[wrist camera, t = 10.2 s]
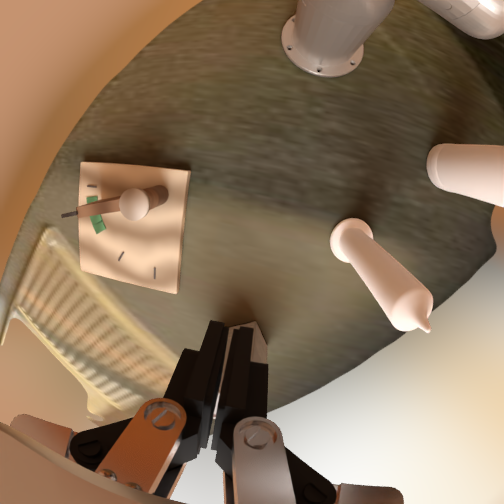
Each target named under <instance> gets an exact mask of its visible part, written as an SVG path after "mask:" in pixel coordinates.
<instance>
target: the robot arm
mask: <svg viewBox="0 0 504 504" xmlns="http://www.w3.org/2000/svg"><path fill="white" fill-rule="evenodd" d="M418 1H419V2H421V3H422V4H424V5H425V6H427V7H429V8H430V9H432V10H433V11H435V12H436V13H438V14H439V15H440V16H442V17H443V18H445V19H446V20H448V21H449V22H450V23H452V24H453V25H455V26H456V27H457V28H459V29H460V30H462V31H463V32H465V33H467V34H468V35H470V36H473V37H475V38H479V39H492V38H495V37H498V36H500V35H501V34H503V33H504V0H418ZM394 2H395V0H298V4H297V10H296V15H294V16H292V17H291V18H290V19H289V20H288V21H287V22H286V24H285V25H284V27H283V30H282V35H281V40H282V46H283V49H284V51H285V53H286V55H287V56H288V58H289V59H290V60H291V61H292V62H293V63H294V64H295V65H296V66H297V67H299V68H300V69H302V70H304V71H306V72H308V73H310V74H313V75H316V76H320V77H339V76H343V75H345V74H348V73H350V72H351V71H353V70H354V69H355V68H356V67H357V66H358V65H359V63H360V62H361V60H362V57H363V52H364V47H363V43H364V42H365V41H366V39H367V38H368V37H369V36H370V35H371V34H372V33H373V31H374V30H375V29H376V28H377V27H378V26H379V25H380V23H381V22H382V21H383V20H384V19H385V18H386V17H387V15H388V14H389V13H390V12H391V10H392V8H393V5H394ZM288 49H291V50H288ZM351 64H352V65H351ZM317 70H319V71H320V72H318V71H317ZM224 324H225V323H222V322H217V321H212V320H211V321H210V323H209V326H208V329H207V331H206V334H205V337H204V340H203V343H202V346H201V348H200V351H195V350H191V349H186V348H185V349H184V350H183V352H182V354H181V357H180V359H179V361H178V364H177V366H176V368H175V371H174V373H173V376H172V378H171V380H170V383H169V385H168V388H167V390H166V392H165V395H164V397H163V398H155V399H151V400H149V401H147V402H145V403H144V404H143V405H142V406H141V407H140V409H139V410H138V412H137V413H136V415H135V416H134V417H133V418H129V419H126V420H123V421H119V422H116V423H112V424H109V425H105V426H101V427H98V428H94V429H90V430H86V431H82V432H80V433H77V432H74V431H73V430H72V429H71V428H67V427H64V426H60V425H57V424H54V423H51V422H48V421H45V420H42V419H39V418H36V417H33V416H30V415H27V414H22V415H18V416H17V417H15V418H14V419H13V421H12V422H11V424H10V426H8V425H6V424H3V423H1V422H0V504H186V503H181V502H178V501H174V500H170V497H171V495H172V493H173V491H174V489H175V487H176V485H177V483H178V481H179V479H180V476H181V474H182V472H183V470H184V468H185V466H186V463H187V462H188V461H191V460H193V459H195V458H197V454H199V452H200V448H201V447H202V448H206V447H207V443H208V438H209V434H210V429H211V424H212V420H213V415H214V411H215V406H216V401H217V397H218V392H219V388H220V383H221V378H222V372H223V365H224V359H225V352H226V346H227V340H228V333H229V327H224ZM253 332H254V328H250V327H244V326H240V328H239V329H233V334H232V339H231V344H230V348H229V353H228V358H227V362H226V367H225V372H224V377H223V381H222V386H221V391H220V396H219V401H218V406H217V412H216V419H215V426H214V432H213V440H212V446H211V450H216V451H217V454H216V459H215V462H216V463H217V464H218V465H219V466H220V467H221V468H222V469H223V484H224V504H404V500H403V495H402V494H401V492H400V491H399V490H397V489H396V488H392V487H380V486H364V485H363V486H362V485H353V484H344V483H341V484H340V485H335V484H332V483H331V482H330V481H329V480H327V479H326V478H324V477H323V476H322V475H320V474H319V473H318V472H316V471H315V470H314V469H312V468H311V467H309V466H308V465H307V464H306V463H305V462H303V461H302V460H301V459H299V458H298V457H297V456H296V455H295V454H293V453H292V452H291V451H290V450H289V449H287V448H286V447H285V446H284V443H283V437H282V433H281V431H280V429H279V427H278V426H277V425H276V424H275V423H274V422H272V421H271V420H268V419H267V395H268V364H265V363H258V362H252V361H251V351H252V341H253Z"/></svg>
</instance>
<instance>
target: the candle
mask: <svg viewBox="0 0 504 504" xmlns="http://www.w3.org/2000/svg"><path fill="white" fill-rule="evenodd" d="M330 246H331V249H332V252H333V253H334V255H335V256H336V257H337V258H338V259H340V260H341V261H344V262H348V263H351V264H352V266H353V267H354V268H355V270H356V271H357V273H358V274H359V275H360V277H361V278H362V280H363V281H364V283H365V284H366V285H367V287H368V288H369V290H370V291H371V293H372V294H373V296H374V297H375V299H376V300H377V302H378V303H379V305H380V306H381V308H382V309H383V311H384V312H385V314H386V315H387V317H388V318H389V320H390V321H391V323H392V324H393V326H394V327H395V328H397V329H398V330H401V331H410V330H414V329H416V328H417V327H419V328H421V329H422V330H424V331H425V332H427V333H429V332H430V331H431V327H430V324H429V321H428V319H427V318H428V317H429V315H430V313H431V311H432V307H433V297H432V295H431V293H430V291H429V290H428V289H427V288H426V287H425V286H424V285H423V284H422V283H421V282H419V281H418V280H417V279H416V278H415V277H414V276H413V275H412V274H411V273H410V272H409V271H408V270H407V269H406V268H404V267H403V266H402V265H401V264H400V263H399V262H398V261H397V260H396V259H395V258H393V257H392V256H391V255H390V254H389V253H388V252H387V251H386V250H384V249H383V248H382V247H381V246H380V245H379V244H377V243H376V242H375V241H374V240H373V234H372V231H371V229H370V227H369V226H368V225H367V224H366V223H365V222H364V221H362V220H360V219H357V218H349V219H345V220H343V221H341V222H340V223H338V224H337V225H336V226H335V228H334V229H333V231H332V233H331V237H330Z"/></svg>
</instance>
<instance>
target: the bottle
mask: <svg viewBox="0 0 504 504" xmlns="http://www.w3.org/2000/svg"><path fill="white" fill-rule="evenodd" d="M427 172H428V176H429V178H430V180H431V181H432V183H433V184H434V185H435V186H436V187H438V188H440V189H443V190H446V191H448V192H455V193H458V194H462V195H465V196H469V197H472V198H476V199H479V200H482V201H485V202H488V203H492V204H495V205H498V206H501V207H504V146H497V145H474V144H438V145H436V146H434V147H433V148H432V149H431V151H430V152H429V154H428V157H427Z"/></svg>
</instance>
